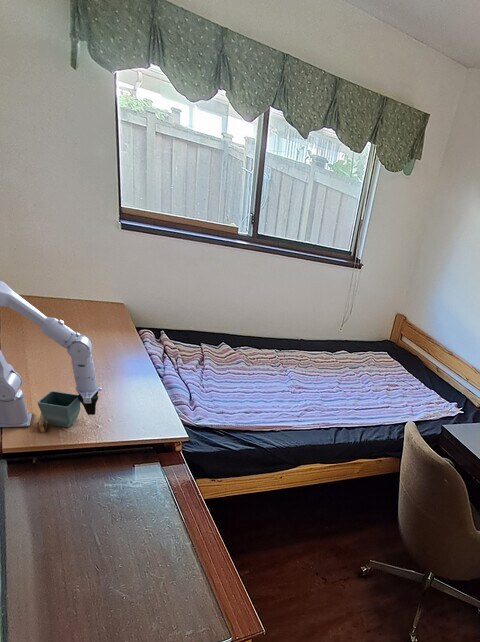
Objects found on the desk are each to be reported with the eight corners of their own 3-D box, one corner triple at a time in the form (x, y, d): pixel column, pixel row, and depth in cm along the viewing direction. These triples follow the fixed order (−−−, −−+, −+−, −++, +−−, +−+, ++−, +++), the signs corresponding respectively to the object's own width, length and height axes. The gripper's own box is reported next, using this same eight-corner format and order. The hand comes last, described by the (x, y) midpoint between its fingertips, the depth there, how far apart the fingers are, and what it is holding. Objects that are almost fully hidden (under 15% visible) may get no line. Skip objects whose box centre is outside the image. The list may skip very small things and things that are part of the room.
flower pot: (84, 418, 153) (80, 394, 148) (72, 431, 146) (67, 407, 141) (56, 414, 151) (50, 390, 146) (42, 427, 144) (36, 402, 139)
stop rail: (40, 432, 142) (38, 424, 140) (42, 419, 147) (40, 412, 146) (46, 432, 143) (44, 424, 141) (48, 419, 148) (46, 412, 147)
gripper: (99, 385, 140) (105, 423, 147) (99, 365, 150) (105, 402, 157) (72, 385, 136) (79, 424, 144) (74, 365, 146) (81, 402, 154)
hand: (91, 412), depth 150 cm, fingers closed
